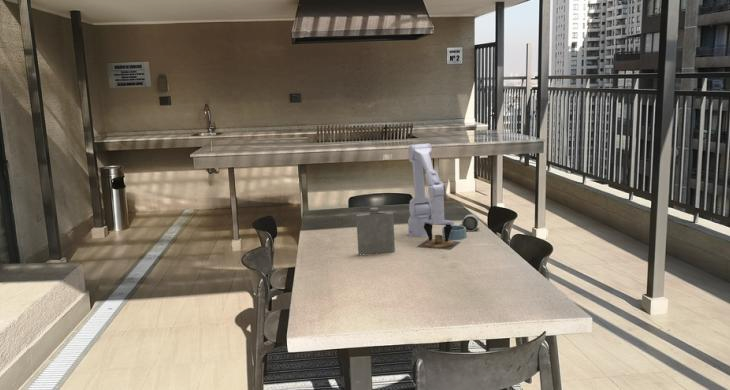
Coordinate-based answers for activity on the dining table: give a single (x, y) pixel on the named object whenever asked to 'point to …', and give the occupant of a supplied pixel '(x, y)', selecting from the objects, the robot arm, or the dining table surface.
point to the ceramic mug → (470, 222)
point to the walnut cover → (438, 242)
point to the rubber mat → (440, 248)
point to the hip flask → (375, 232)
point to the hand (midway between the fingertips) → (438, 240)
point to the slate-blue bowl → (456, 233)
